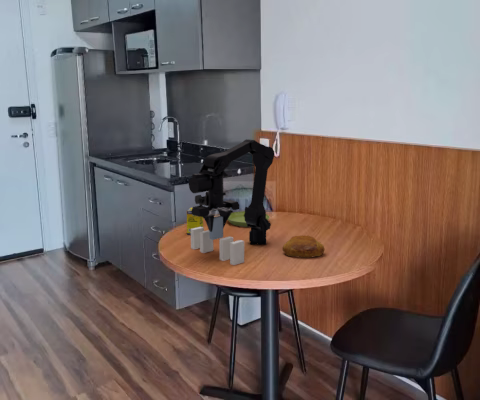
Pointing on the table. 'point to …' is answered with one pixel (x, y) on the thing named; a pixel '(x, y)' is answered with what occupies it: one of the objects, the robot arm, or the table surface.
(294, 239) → the croissant
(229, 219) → the saucer
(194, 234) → the domino
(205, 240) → the domino
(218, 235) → the domino
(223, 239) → the domino
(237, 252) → the domino
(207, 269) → the table surface
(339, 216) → the table surface
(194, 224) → the supplement box
